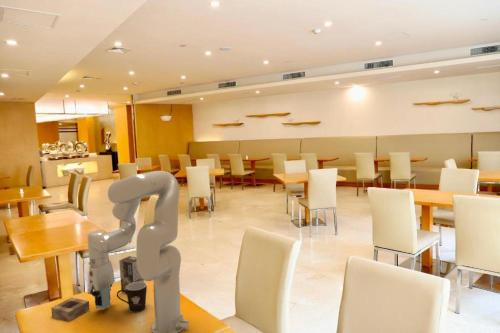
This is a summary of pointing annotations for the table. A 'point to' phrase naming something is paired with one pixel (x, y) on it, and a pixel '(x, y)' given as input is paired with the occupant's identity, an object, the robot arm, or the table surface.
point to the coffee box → (128, 272)
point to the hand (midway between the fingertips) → (103, 302)
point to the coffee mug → (135, 296)
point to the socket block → (70, 309)
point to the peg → (104, 298)
